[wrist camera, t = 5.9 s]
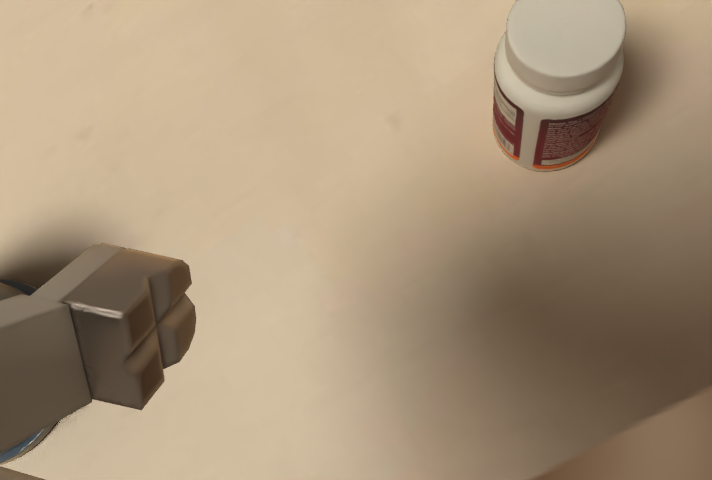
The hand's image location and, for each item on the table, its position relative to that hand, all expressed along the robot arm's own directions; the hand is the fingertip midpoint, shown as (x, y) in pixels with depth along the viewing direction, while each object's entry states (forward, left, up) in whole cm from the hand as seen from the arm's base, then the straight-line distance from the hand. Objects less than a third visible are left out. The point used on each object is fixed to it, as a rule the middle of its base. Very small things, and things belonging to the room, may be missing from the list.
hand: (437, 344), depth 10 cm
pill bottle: (+10, -8, -20) cm, 24 cm away
